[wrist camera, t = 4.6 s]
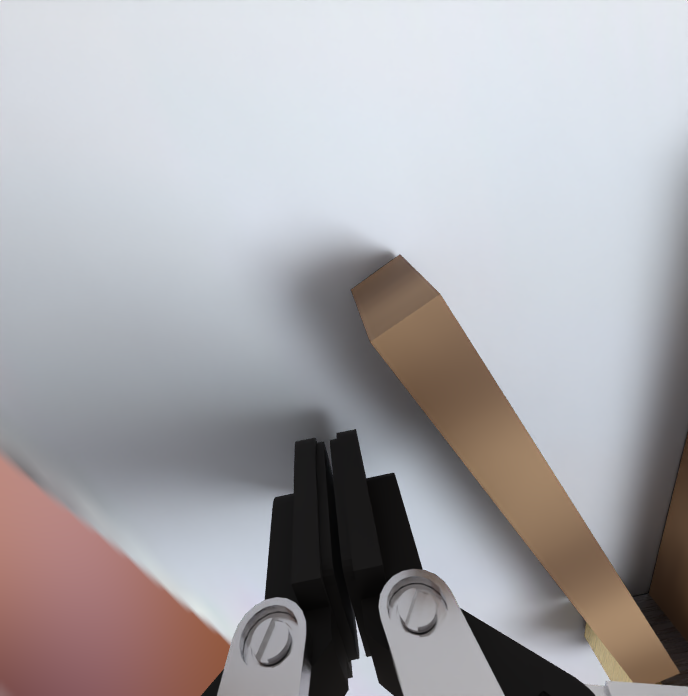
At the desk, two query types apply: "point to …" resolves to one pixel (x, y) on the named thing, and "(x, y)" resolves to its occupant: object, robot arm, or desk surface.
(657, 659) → the bar
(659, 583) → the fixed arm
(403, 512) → the robot arm
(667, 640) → the block
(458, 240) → the desk surface
